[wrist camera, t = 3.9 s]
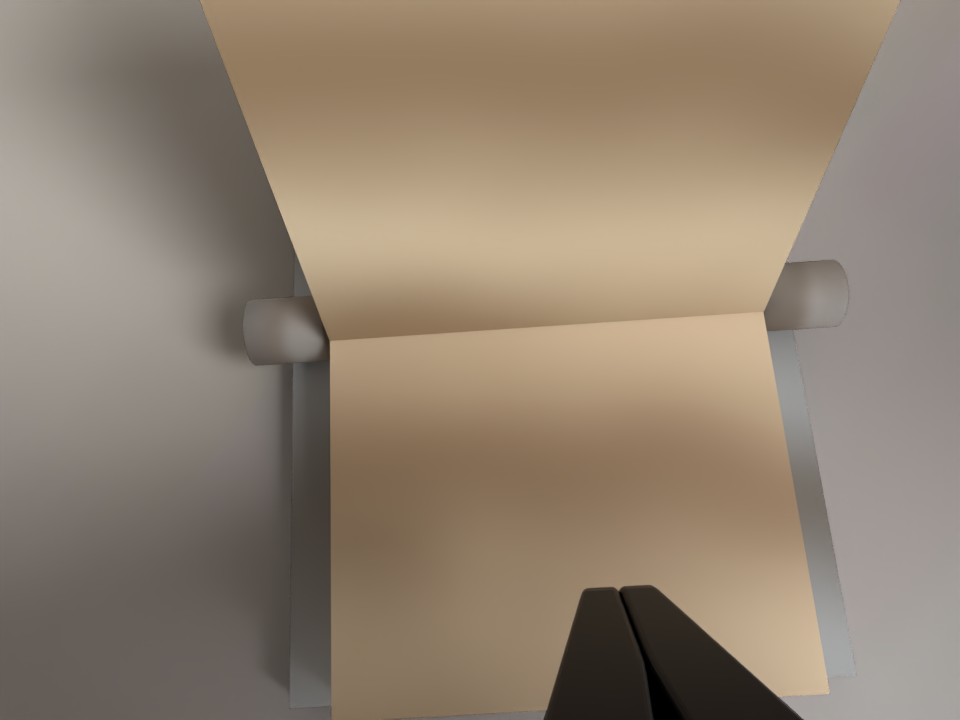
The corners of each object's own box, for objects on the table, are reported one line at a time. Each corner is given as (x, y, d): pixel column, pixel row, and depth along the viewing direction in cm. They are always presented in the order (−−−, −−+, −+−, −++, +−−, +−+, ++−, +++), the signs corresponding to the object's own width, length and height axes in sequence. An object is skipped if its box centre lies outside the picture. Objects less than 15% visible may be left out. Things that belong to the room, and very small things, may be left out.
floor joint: (868, 667, 15) (936, 688, 12) (271, 702, 15) (228, 729, 13) (721, -109, 20) (749, -196, 18) (284, -75, 20) (256, -156, 18)
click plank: (743, 251, 15) (764, 311, 14) (335, 279, 15) (329, 340, 14) (1086, -695, 6) (1204, -693, 5) (44, -598, 6) (-24, -582, 5)
